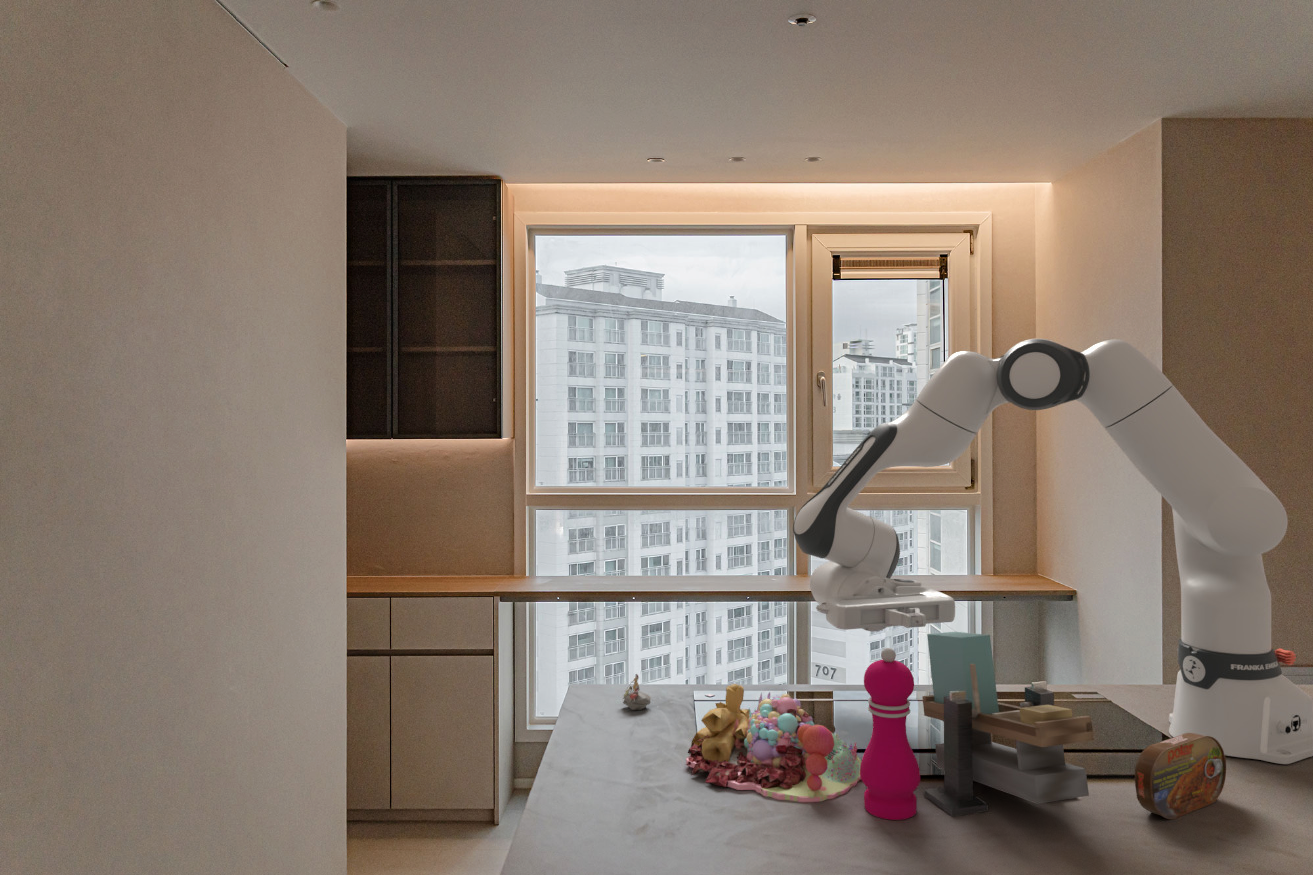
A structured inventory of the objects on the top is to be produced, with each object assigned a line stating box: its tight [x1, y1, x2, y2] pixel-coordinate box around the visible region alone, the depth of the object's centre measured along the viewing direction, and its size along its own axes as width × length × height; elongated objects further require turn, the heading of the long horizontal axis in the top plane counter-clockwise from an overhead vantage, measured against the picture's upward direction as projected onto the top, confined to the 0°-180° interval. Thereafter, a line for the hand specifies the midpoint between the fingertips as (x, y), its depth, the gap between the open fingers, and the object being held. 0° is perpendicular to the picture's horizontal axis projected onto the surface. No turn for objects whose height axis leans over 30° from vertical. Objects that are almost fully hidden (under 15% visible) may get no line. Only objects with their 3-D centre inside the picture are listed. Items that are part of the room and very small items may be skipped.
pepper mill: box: [860, 647, 921, 821], centre depth 107 cm, size 7×7×20 cm
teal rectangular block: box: [926, 631, 999, 714], centre depth 117 cm, size 4×8×10 cm, turn 15°
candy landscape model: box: [685, 683, 862, 803], centre depth 122 cm, size 25×24×9 cm
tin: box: [1134, 733, 1227, 820], centre depth 106 cm, size 15×3×8 cm, turn 117°
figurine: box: [622, 673, 652, 711], centre depth 146 cm, size 5×4×6 cm
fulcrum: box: [923, 680, 1055, 817], centre depth 110 cm, size 18×6×14 cm, turn 105°
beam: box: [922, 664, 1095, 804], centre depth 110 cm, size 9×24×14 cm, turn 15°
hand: (917, 621), depth 127 cm, fingers closed
